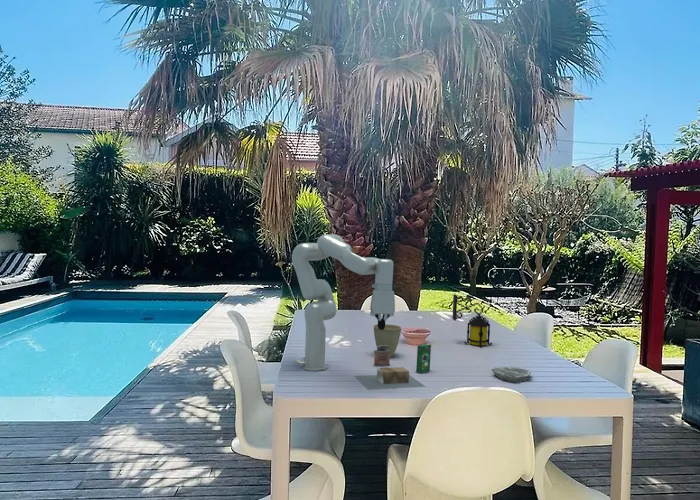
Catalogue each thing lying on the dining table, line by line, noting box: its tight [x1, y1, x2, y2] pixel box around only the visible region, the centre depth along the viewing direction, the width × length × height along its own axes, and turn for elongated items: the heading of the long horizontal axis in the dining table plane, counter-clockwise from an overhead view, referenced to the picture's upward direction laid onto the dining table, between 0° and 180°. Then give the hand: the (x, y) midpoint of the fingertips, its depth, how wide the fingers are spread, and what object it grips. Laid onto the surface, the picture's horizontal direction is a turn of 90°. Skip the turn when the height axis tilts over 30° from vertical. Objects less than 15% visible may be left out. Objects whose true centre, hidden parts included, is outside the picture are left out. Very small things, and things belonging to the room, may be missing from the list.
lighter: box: [373, 345, 391, 367], centre depth 255 cm, size 8×3×10 cm, turn 105°
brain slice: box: [491, 366, 532, 383], centre depth 242 cm, size 20×17×3 cm
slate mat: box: [353, 374, 426, 391], centre depth 225 cm, size 26×20×1 cm
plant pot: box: [373, 323, 402, 359], centre depth 274 cm, size 15×15×16 cm
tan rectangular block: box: [376, 366, 410, 384], centre depth 225 cm, size 5×7×12 cm
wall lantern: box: [452, 294, 493, 349], centre depth 312 cm, size 17×24×30 cm
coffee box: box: [415, 343, 432, 374], centre depth 246 cm, size 8×3×13 cm, turn 137°
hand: (381, 329), depth 225 cm, fingers closed
